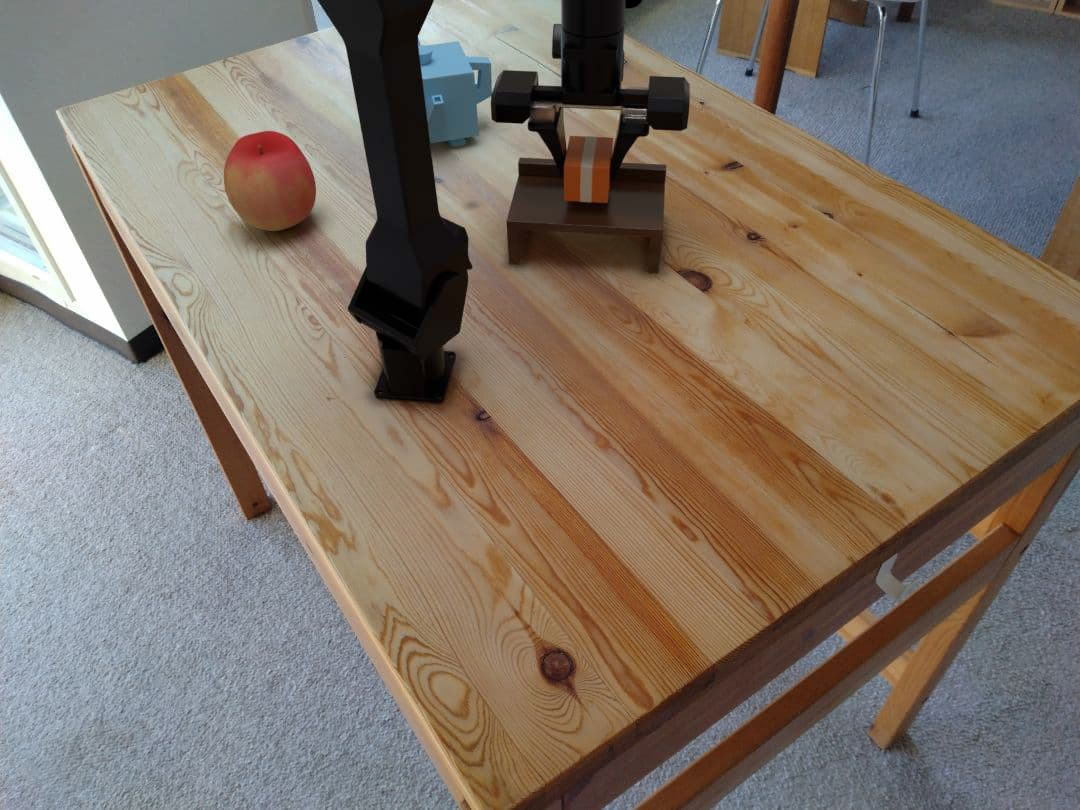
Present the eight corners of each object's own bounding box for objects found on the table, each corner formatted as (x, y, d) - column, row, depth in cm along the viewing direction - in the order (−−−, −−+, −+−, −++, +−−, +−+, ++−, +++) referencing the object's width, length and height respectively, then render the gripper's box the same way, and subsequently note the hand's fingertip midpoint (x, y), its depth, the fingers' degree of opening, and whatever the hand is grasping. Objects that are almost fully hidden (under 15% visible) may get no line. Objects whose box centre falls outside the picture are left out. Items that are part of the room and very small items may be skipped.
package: (607, 203, 86) (609, 168, 83) (563, 201, 87) (563, 165, 84) (611, 171, 90) (613, 137, 87) (569, 169, 91) (569, 135, 88)
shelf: (658, 273, 89) (664, 217, 84) (508, 264, 91) (505, 208, 86) (661, 219, 96) (666, 164, 91) (521, 211, 98) (519, 157, 93)
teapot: (383, 177, 103) (367, 88, 95) (364, 109, 115) (349, 25, 107) (508, 157, 106) (504, 69, 98) (477, 92, 118) (471, 9, 110)
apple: (239, 207, 99) (213, 128, 92) (321, 194, 101) (302, 116, 94) (239, 254, 93) (212, 173, 86) (327, 240, 94) (307, 160, 87)
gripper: (696, -7, 81) (680, 142, 92) (504, -13, 83) (510, 134, 94) (697, 43, 73) (679, 199, 85) (485, 35, 75) (494, 189, 87)
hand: (588, 177), depth 88 cm, fingers closed on package, 4 cm apart
